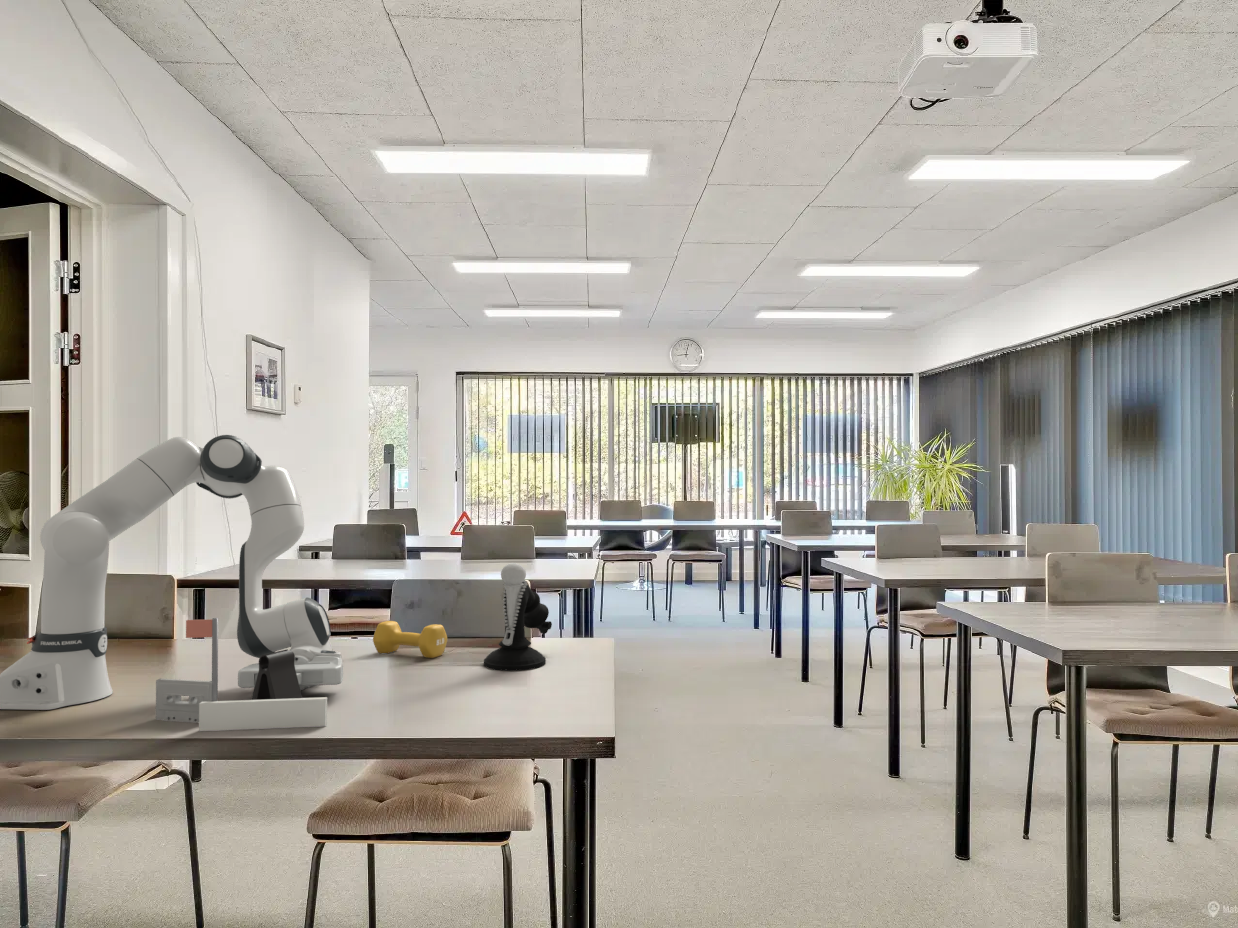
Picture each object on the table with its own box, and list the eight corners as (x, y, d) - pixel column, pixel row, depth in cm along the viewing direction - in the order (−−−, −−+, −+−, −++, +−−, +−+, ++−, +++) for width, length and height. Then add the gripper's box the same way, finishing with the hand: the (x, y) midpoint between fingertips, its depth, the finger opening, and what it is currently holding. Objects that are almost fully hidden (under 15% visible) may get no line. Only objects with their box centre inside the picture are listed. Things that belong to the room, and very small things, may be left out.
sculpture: (471, 667, 196) (472, 564, 196) (520, 648, 218) (520, 556, 218) (527, 673, 190) (527, 566, 191) (571, 653, 212) (571, 558, 212)
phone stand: (305, 713, 157) (306, 651, 157) (280, 721, 152) (280, 657, 152) (273, 707, 161) (273, 647, 161) (247, 715, 156) (247, 653, 156)
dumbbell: (450, 654, 212) (450, 622, 212) (429, 661, 203) (429, 628, 204) (392, 648, 219) (392, 618, 219) (369, 655, 211) (369, 623, 211)
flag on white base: (181, 731, 145) (182, 620, 146) (209, 710, 159) (210, 608, 159) (325, 726, 149) (326, 617, 149) (341, 705, 162) (341, 606, 163)
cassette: (216, 721, 152) (216, 680, 153) (209, 723, 151) (210, 682, 151) (160, 717, 155) (160, 677, 155) (153, 720, 153) (153, 680, 153)
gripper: (249, 654, 172) (226, 669, 158) (348, 651, 174) (335, 665, 161) (248, 684, 171) (226, 701, 158) (348, 680, 174) (334, 697, 161)
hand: (282, 683), depth 159 cm, fingers closed
